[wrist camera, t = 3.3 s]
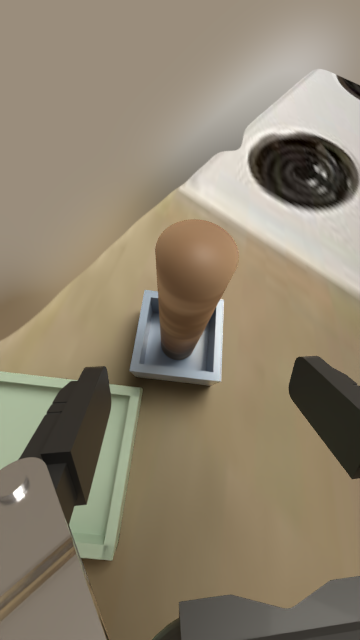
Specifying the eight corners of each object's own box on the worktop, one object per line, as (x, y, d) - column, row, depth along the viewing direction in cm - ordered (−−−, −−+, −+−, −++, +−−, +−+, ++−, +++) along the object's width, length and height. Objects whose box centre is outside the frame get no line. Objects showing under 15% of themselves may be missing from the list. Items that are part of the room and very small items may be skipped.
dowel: (158, 357, 23) (149, 282, 9) (163, 325, 24) (161, 214, 10) (193, 361, 23) (238, 293, 9) (195, 329, 24) (239, 225, 10)
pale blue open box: (135, 377, 23) (129, 370, 18) (147, 308, 25) (144, 289, 21) (210, 385, 23) (221, 381, 19) (214, 317, 26) (223, 299, 21)
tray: (-83, 522, 17) (-116, 538, 15) (-17, 370, 22) (-36, 367, 20) (118, 542, 18) (112, 560, 16) (142, 389, 22) (140, 387, 20)
